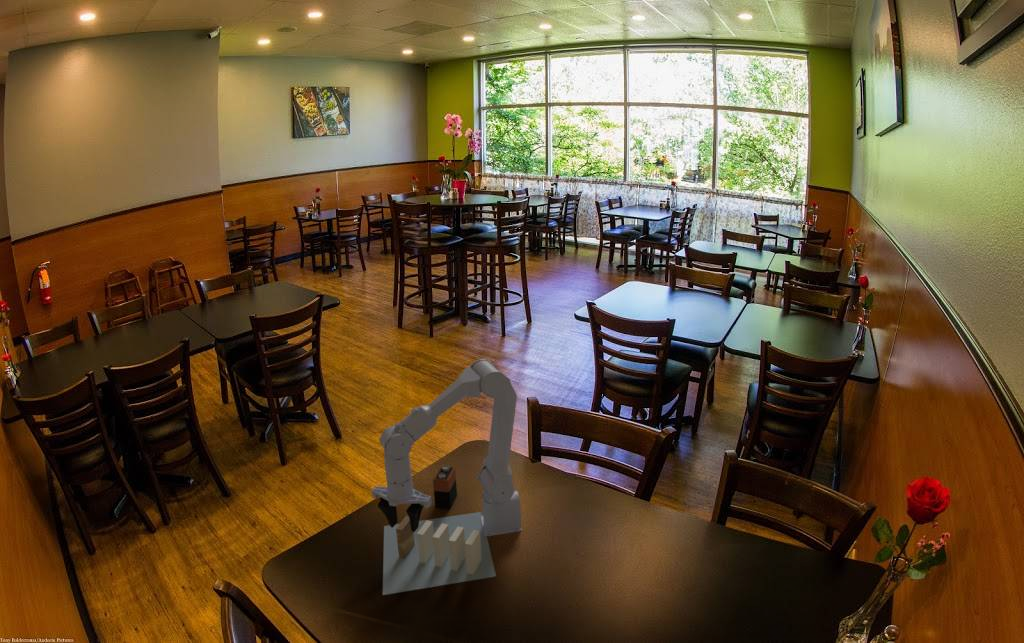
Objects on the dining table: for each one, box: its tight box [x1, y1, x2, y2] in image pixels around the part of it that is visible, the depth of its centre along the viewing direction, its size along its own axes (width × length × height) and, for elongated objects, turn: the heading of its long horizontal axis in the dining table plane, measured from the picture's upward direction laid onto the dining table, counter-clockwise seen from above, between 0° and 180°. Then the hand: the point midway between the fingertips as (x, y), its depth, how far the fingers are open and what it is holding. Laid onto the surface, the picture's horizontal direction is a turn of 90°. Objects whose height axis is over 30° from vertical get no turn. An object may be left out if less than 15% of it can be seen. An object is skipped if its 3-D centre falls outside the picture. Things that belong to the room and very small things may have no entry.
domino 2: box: [433, 523, 450, 567], centre depth 136 cm, size 2×5×8 cm, turn 161°
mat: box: [382, 511, 497, 596], centre depth 141 cm, size 25×24×1 cm
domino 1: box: [417, 519, 434, 564], centre depth 137 cm, size 2×5×8 cm, turn 161°
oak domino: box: [396, 515, 415, 558], centre depth 139 cm, size 2×5×8 cm, turn 161°
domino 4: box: [465, 530, 482, 574], centre depth 134 cm, size 2×5×8 cm, turn 161°
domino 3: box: [449, 527, 466, 571], centre depth 135 cm, size 2×5×8 cm, turn 161°
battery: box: [432, 464, 458, 510], centre depth 158 cm, size 4×7×10 cm, turn 168°
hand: (404, 526), depth 138 cm, fingers open, 5 cm apart
